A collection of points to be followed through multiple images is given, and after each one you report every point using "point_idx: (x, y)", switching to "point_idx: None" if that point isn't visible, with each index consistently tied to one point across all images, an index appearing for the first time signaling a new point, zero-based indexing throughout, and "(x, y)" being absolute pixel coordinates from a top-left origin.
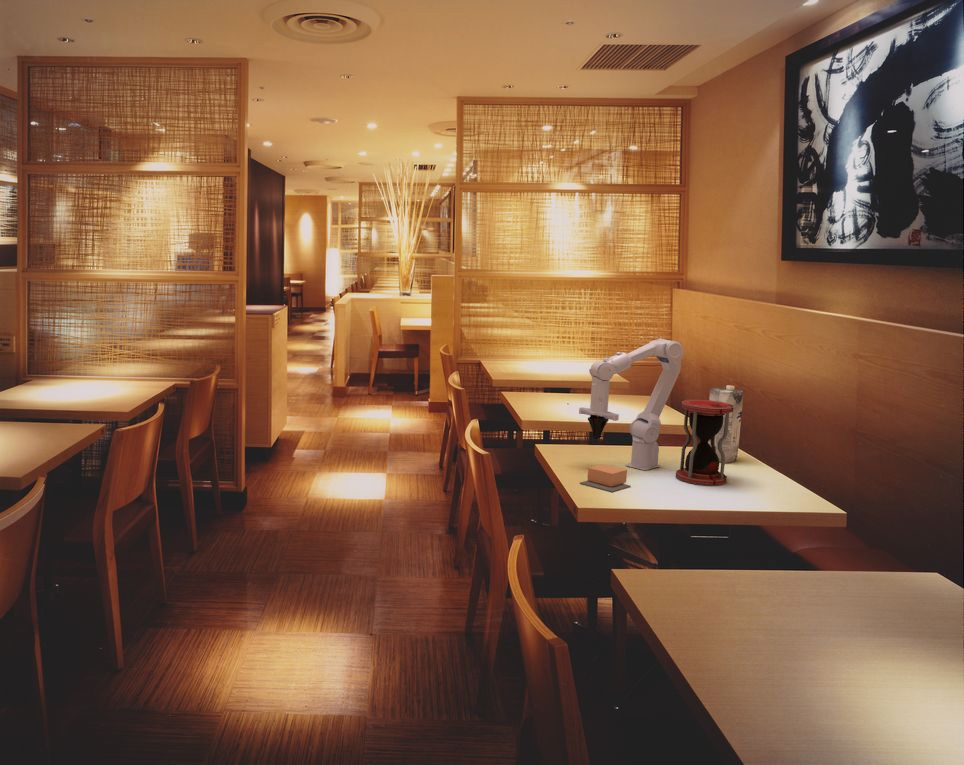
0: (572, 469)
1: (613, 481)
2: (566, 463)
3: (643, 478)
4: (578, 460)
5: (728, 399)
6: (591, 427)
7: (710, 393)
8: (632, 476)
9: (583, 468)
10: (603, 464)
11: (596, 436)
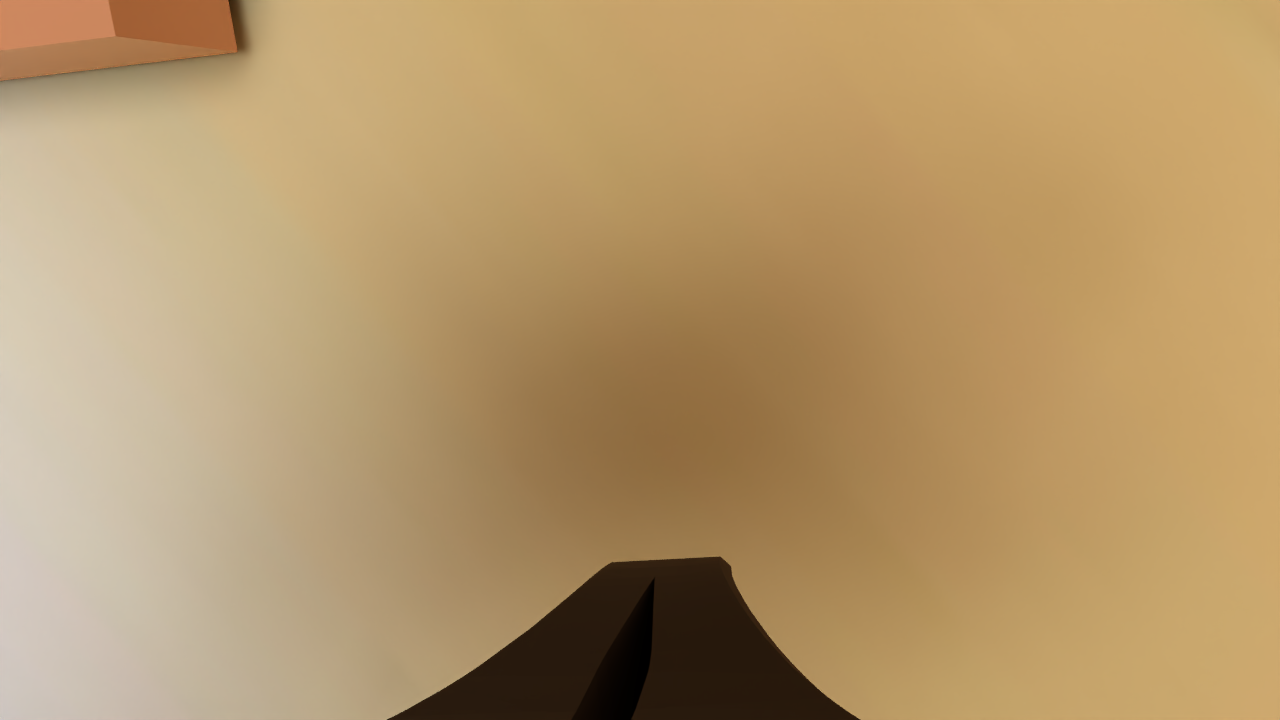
0: (907, 55)
1: None
2: (1248, 282)
3: (10, 583)
4: (1244, 610)
5: None
6: (789, 675)
7: None
8: (146, 543)
9: (843, 277)
10: (86, 11)
11: (589, 582)
